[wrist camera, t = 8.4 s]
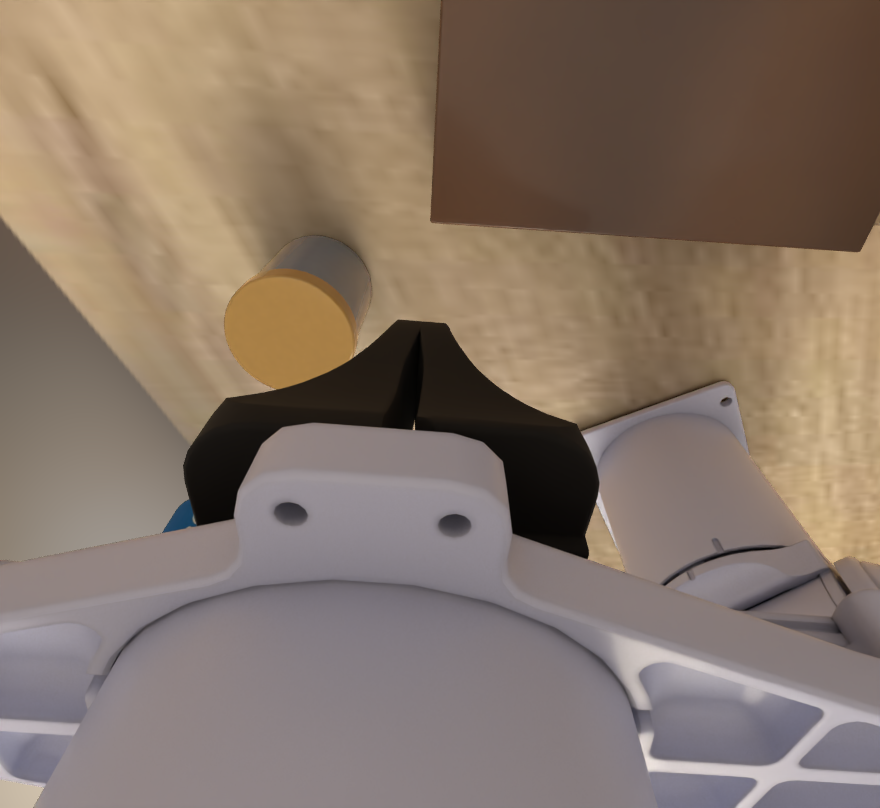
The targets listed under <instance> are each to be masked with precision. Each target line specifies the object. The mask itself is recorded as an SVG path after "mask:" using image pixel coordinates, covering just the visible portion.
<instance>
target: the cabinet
mask: <svg viewBox="0 0 880 808" xmlns="http://www.w3.org/2000/svg"><path fill="white" fill-rule="evenodd" d="M879 214H880V0H441V10H440V31H439V52H438V72H437V93H436V114H435V135H434V156H433V176H432V197H431V218H430V221H431V222H432V223H440V224H455V225H469V226H484V227H498V228H513V229H527V230H542V231H556V232H571V233H585V234H600V235H615V236H629V237H644V238H658V239H673V240H687V241H702V242H716V243H731V244H745V245H760V246H775V247H789V248H804V249H818V250H833V251H847V252H860V251H861V249H862V247H863V245H864V243H865V241H866V239H867V237H868V235H869V233H870V231H871V229H872V227H873V225H874V223H875V221H876V219H877V218H878V216H879Z"/></svg>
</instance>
